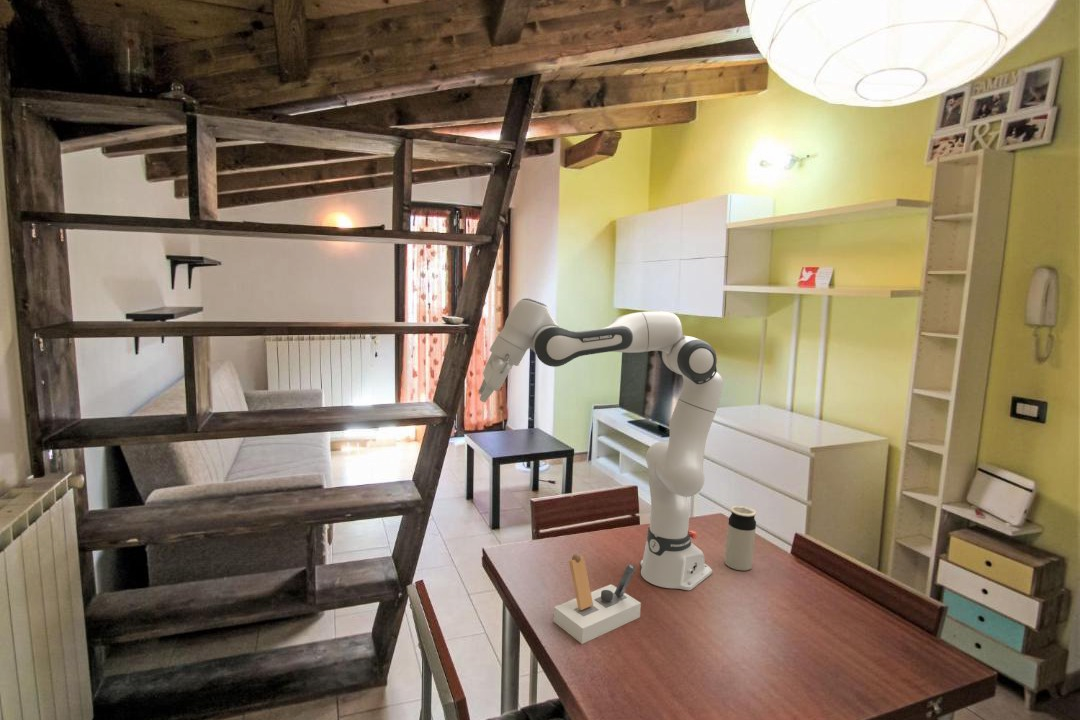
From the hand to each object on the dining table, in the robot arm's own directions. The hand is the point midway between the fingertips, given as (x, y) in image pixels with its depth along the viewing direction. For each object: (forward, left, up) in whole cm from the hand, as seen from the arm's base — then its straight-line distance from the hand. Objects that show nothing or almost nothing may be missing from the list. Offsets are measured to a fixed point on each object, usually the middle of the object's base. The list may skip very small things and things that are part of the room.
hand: (481, 397), depth 156 cm
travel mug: (-74, +35, -54) cm, 98 cm away
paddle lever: (-13, +32, -50) cm, 61 cm away
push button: (-20, +32, -50) cm, 62 cm away
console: (-17, +32, -54) cm, 65 cm away
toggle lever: (-24, +32, -50) cm, 64 cm away
